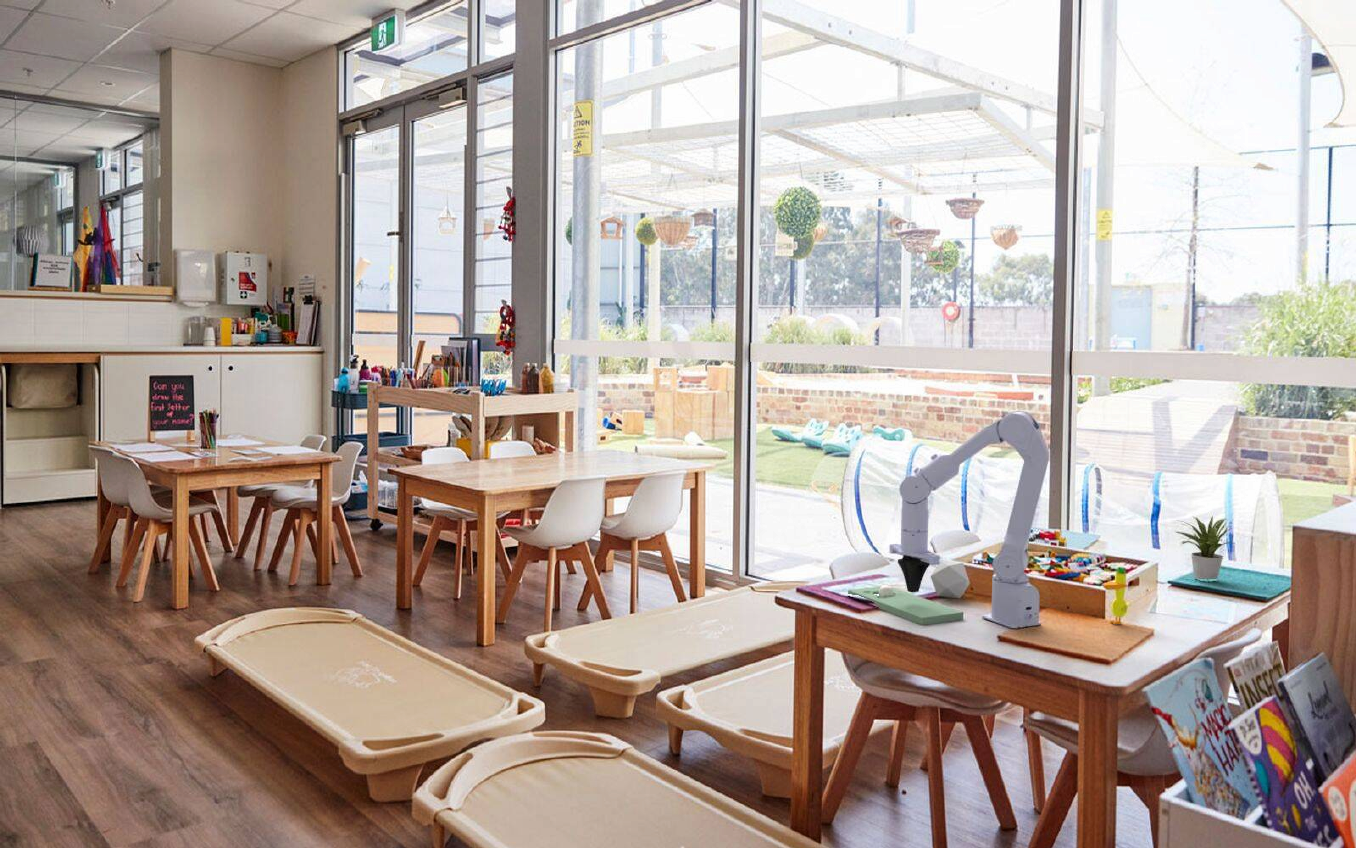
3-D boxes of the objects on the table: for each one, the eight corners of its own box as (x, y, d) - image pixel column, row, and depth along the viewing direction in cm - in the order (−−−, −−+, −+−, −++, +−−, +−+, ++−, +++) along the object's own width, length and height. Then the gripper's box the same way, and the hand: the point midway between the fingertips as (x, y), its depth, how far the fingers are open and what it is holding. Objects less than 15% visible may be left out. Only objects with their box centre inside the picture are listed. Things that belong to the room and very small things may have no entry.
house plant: (1191, 570, 279) (1194, 507, 278) (1247, 580, 268) (1250, 515, 267) (1164, 577, 270) (1167, 512, 269) (1221, 588, 259) (1224, 521, 258)
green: (963, 619, 229) (963, 612, 229) (922, 625, 224) (922, 618, 224) (886, 591, 252) (887, 585, 252) (847, 596, 247) (848, 590, 247)
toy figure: (1107, 627, 224) (1109, 570, 223) (1095, 622, 227) (1098, 566, 226) (1134, 624, 226) (1137, 568, 225) (1123, 620, 229) (1125, 564, 228)
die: (973, 597, 251) (954, 560, 255) (979, 586, 243) (959, 548, 247) (940, 610, 250) (922, 572, 254) (946, 600, 242) (926, 561, 246)
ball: (899, 589, 242) (888, 582, 245) (887, 589, 240) (877, 583, 243) (895, 603, 243) (885, 596, 246) (883, 604, 241) (873, 597, 244)
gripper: (879, 526, 239) (877, 586, 241) (921, 537, 227) (920, 600, 228) (904, 523, 243) (903, 583, 244) (948, 534, 230) (946, 597, 231)
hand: (913, 591), depth 236 cm, fingers closed
